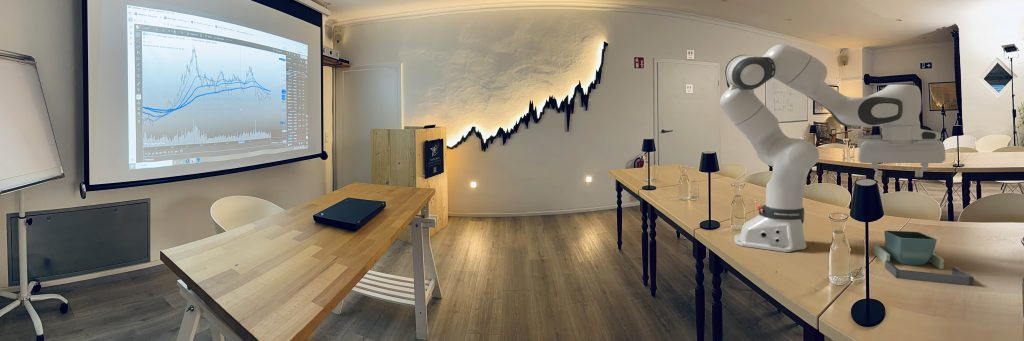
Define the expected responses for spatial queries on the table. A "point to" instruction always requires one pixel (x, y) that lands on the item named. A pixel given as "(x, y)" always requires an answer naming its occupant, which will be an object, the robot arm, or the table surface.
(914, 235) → the flower pot
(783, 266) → the table surface
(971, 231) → the table surface
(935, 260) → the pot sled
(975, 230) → the table surface
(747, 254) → the table surface
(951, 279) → the frame
